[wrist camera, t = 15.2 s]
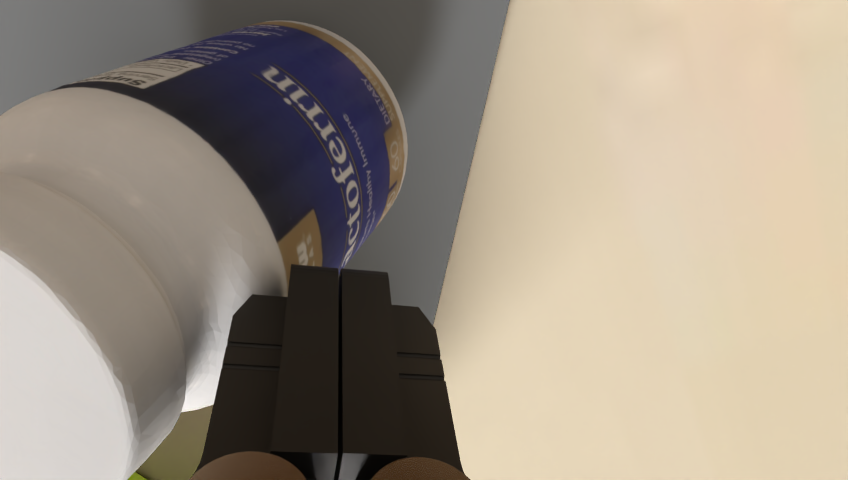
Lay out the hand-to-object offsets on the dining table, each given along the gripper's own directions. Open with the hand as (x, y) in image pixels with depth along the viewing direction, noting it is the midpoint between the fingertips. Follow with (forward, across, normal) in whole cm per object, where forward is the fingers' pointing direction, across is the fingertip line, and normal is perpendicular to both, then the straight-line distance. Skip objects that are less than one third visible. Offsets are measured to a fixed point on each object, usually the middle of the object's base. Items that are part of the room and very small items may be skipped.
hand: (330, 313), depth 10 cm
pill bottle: (+8, +1, 0) cm, 8 cm away
